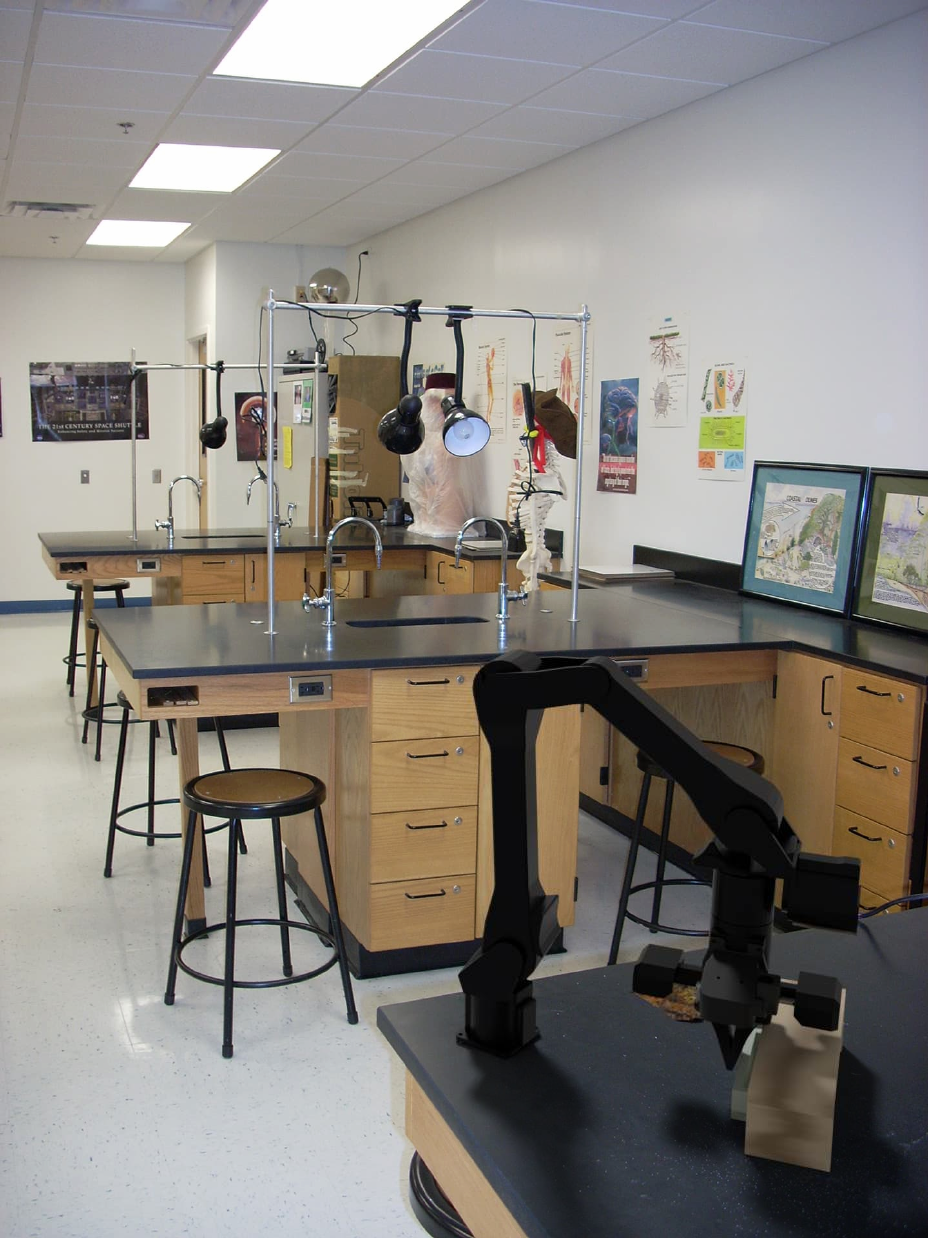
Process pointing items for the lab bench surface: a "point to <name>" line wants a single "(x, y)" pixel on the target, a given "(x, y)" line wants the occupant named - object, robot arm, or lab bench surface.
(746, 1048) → the tray
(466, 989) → the robot arm
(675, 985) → the butterfly model
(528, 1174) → the lab bench surface
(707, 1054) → the lab bench surface
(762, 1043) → the tan rectangular block
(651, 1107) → the lab bench surface
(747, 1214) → the lab bench surface
